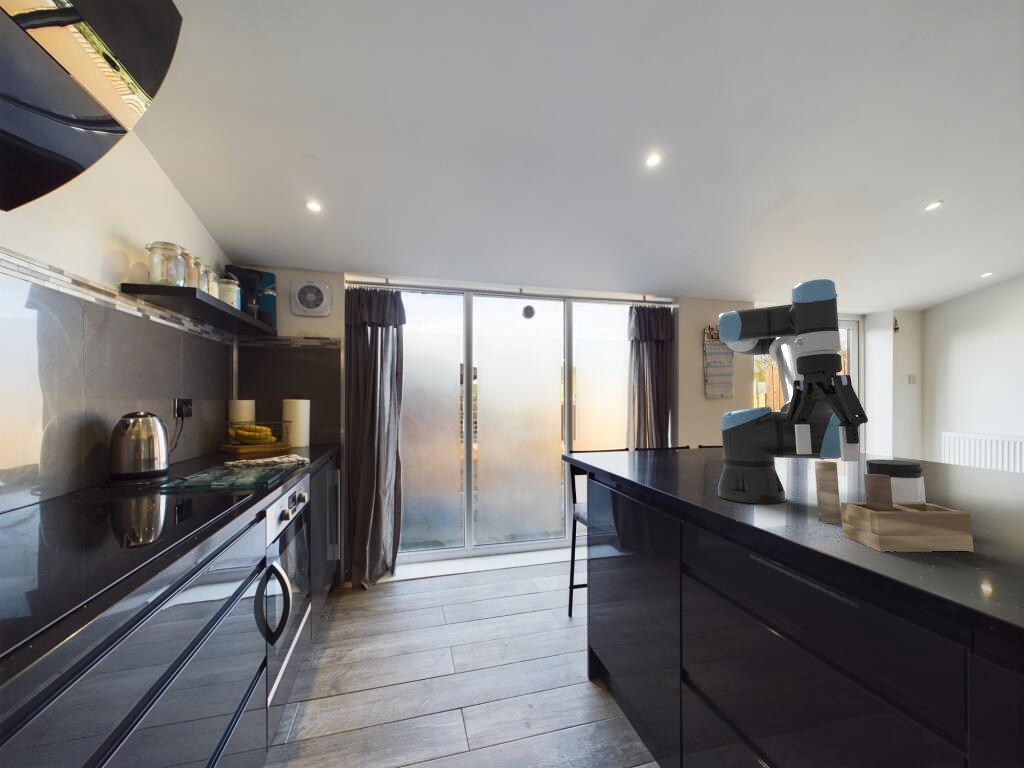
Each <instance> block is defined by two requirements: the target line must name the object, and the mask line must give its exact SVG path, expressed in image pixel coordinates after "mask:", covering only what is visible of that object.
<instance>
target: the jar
mask: <svg viewBox="0 0 1024 768" xmlns="http://www.w3.org/2000/svg"><path fill="white" fill-rule="evenodd" d="M865 465H866V467H865V469H866V474H882V475H888V476H890V477H891V489H892V501H893V502H925V503H927V502H926V500H927V499H926V492H925V491H926V490H925V480H924V476H923V474H922V473H923V469H922V464H921V463H920V462H918V461H912V460H911V461H909V460H900V459H899V460H898V459H881V458H880V459H878V458H877V459H867V460H866V461H865Z"/></svg>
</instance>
